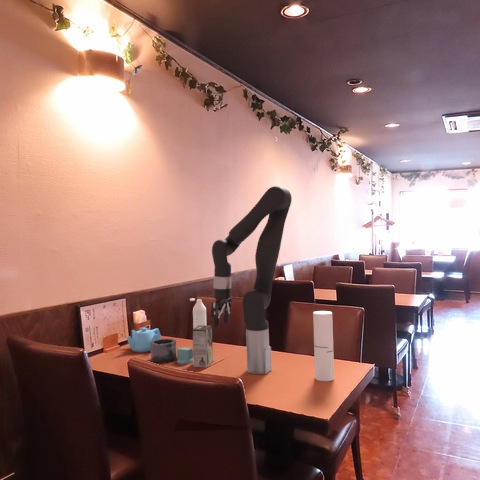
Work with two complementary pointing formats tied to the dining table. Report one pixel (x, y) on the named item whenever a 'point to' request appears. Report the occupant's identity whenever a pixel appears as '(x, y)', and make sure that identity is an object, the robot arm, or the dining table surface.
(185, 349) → the teal short cylinder
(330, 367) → the cylindrical container
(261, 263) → the robot arm
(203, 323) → the water bottle
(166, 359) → the dark grey canister
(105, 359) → the dining table surface
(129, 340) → the teapot
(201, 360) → the coffee box
